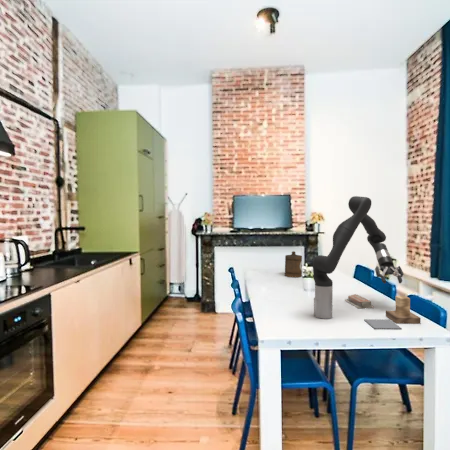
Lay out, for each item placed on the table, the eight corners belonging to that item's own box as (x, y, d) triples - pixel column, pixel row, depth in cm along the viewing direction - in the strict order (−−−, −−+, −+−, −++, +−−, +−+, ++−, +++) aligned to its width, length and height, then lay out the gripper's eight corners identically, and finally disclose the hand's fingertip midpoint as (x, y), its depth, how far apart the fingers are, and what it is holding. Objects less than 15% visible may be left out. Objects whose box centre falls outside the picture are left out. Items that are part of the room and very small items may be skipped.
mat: (374, 329, 160) (374, 328, 160) (364, 320, 173) (364, 319, 173) (401, 329, 160) (401, 328, 160) (389, 320, 173) (389, 319, 173)
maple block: (400, 315, 171) (400, 298, 171) (395, 312, 176) (395, 296, 176) (409, 315, 171) (410, 298, 171) (404, 312, 176) (405, 296, 176)
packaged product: (374, 300, 195) (358, 301, 194) (374, 309, 195) (358, 309, 194) (359, 293, 212) (344, 293, 212) (359, 300, 213) (344, 301, 212)
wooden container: (304, 277, 288) (304, 252, 288) (289, 278, 285) (289, 252, 284) (297, 274, 303) (297, 250, 302) (282, 274, 299) (282, 250, 299)
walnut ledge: (396, 323, 168) (396, 317, 168) (385, 316, 180) (385, 310, 180) (420, 323, 168) (420, 317, 167) (408, 316, 180) (408, 310, 179)
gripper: (373, 255, 193) (382, 279, 182) (398, 255, 192) (408, 279, 181) (370, 263, 198) (378, 286, 187) (394, 262, 198) (403, 286, 187)
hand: (392, 282), depth 184 cm, fingers open, 8 cm apart
